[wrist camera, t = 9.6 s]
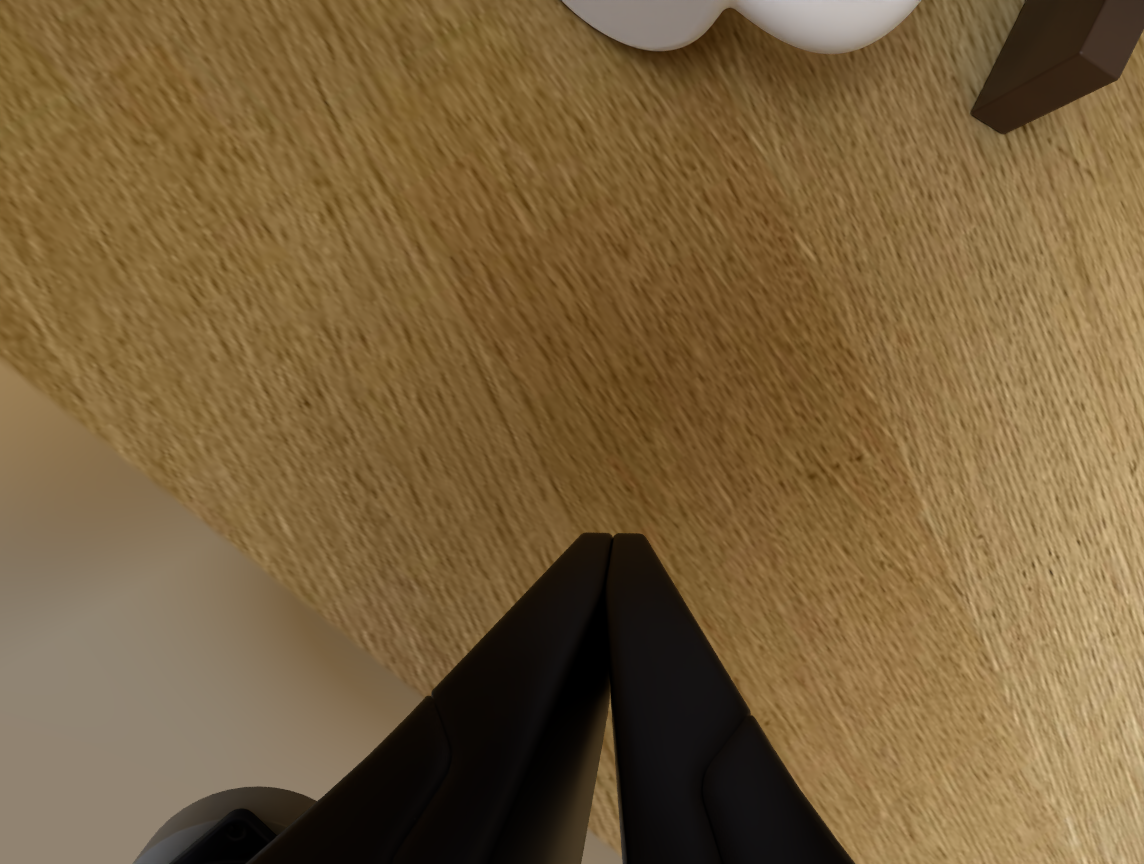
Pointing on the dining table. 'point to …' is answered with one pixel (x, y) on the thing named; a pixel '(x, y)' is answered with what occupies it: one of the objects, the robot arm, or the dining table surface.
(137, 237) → the dining table surface
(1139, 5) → the shelf
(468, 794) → the robot arm
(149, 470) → the dining table surface
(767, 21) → the mug
